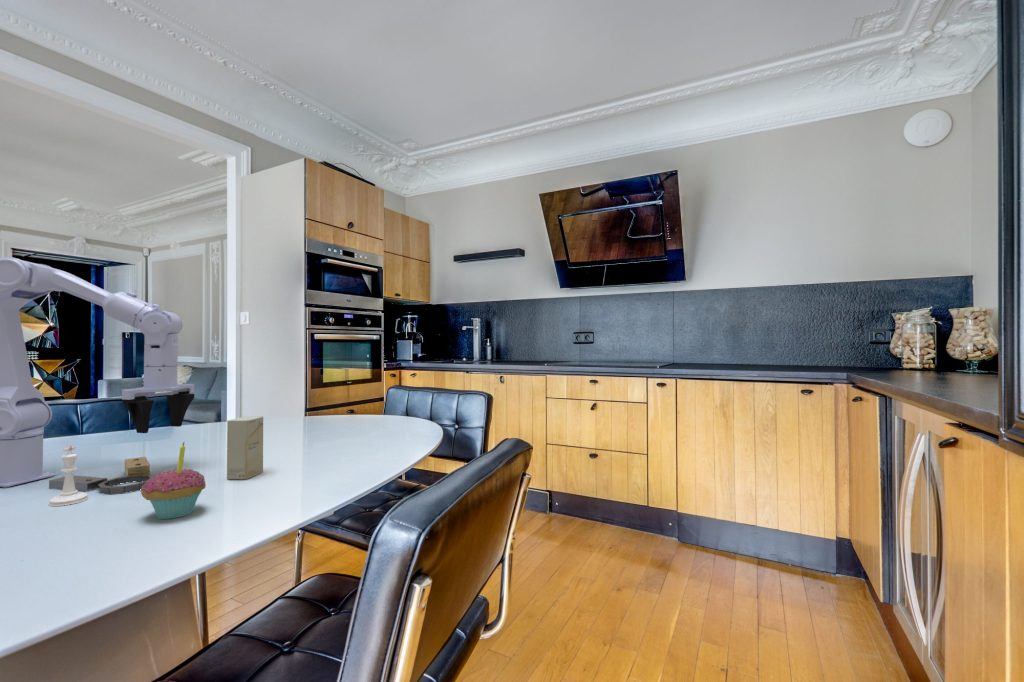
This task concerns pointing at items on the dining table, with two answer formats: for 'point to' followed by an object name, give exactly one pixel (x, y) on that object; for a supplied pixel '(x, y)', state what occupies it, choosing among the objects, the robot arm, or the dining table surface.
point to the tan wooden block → (137, 466)
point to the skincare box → (244, 447)
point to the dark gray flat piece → (103, 483)
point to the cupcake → (174, 490)
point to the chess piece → (68, 482)
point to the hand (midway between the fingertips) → (160, 429)
